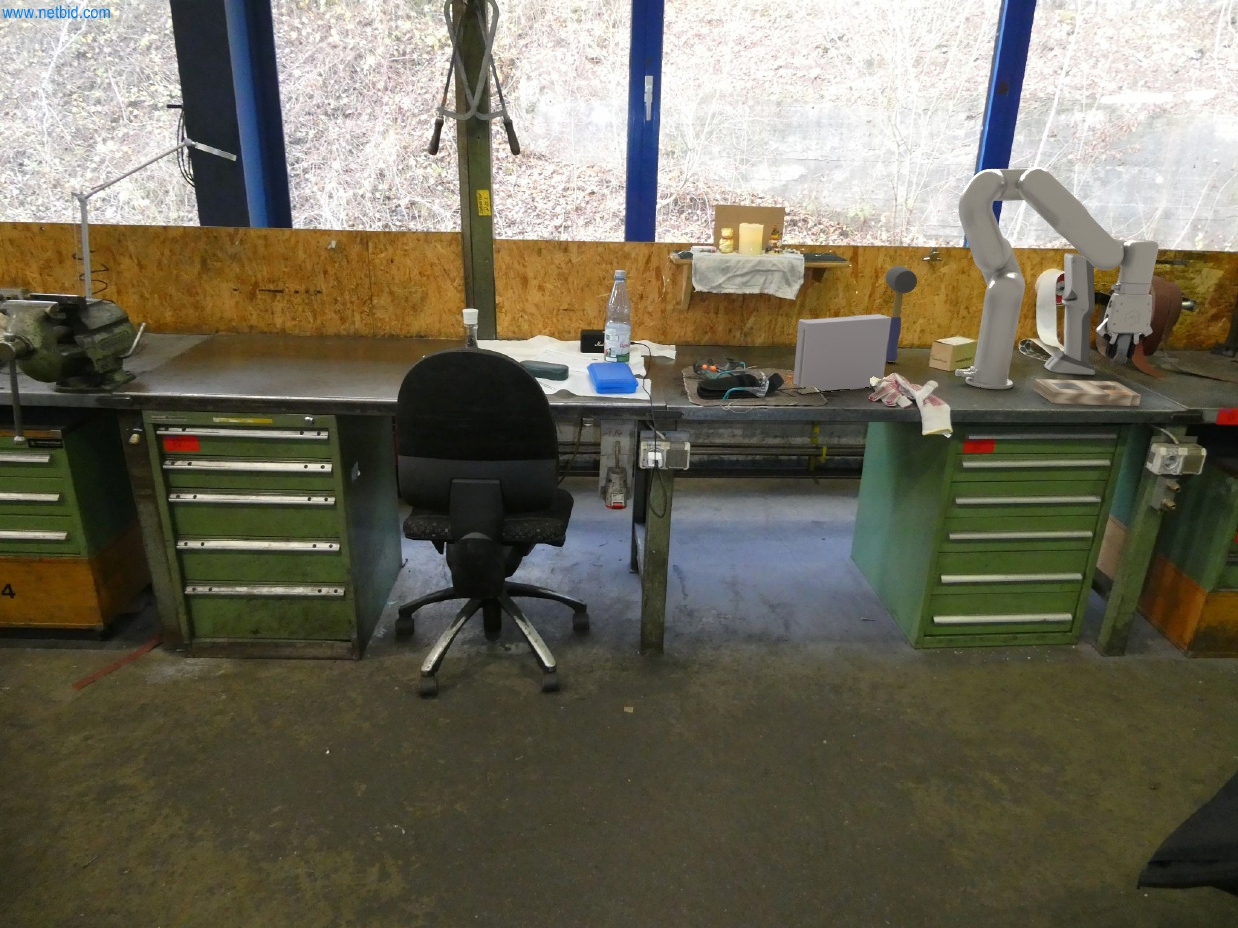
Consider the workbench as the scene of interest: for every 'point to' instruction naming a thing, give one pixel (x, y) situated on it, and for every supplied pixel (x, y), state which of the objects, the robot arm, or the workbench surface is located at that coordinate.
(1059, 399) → the fixture board
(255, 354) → the workbench surface
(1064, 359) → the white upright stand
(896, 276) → the rubber mallet
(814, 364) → the game console
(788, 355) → the workbench surface
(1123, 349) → the peg
